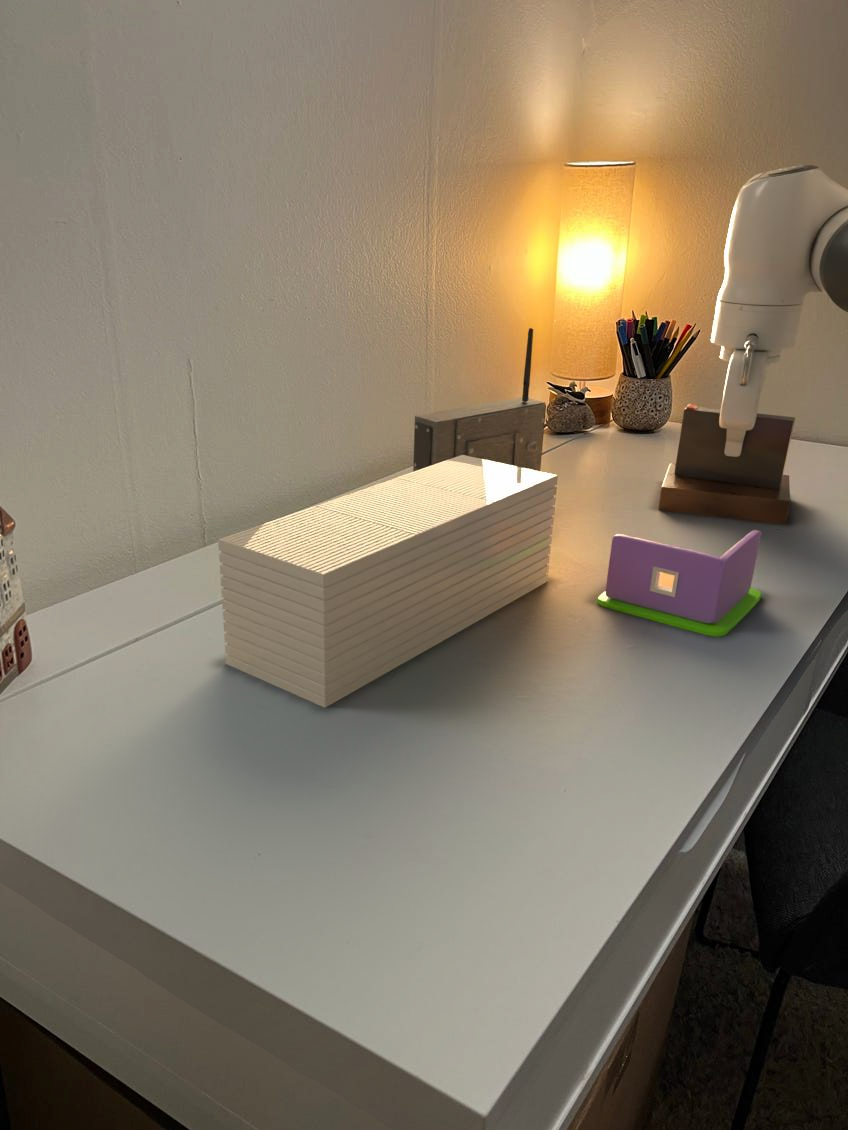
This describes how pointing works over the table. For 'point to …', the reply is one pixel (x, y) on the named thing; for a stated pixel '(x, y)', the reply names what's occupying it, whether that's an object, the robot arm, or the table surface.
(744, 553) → the miniature room corner
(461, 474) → the stack of papers
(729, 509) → the stand
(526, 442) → the electronic device
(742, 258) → the robot arm
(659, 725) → the table surface
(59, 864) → the table surface
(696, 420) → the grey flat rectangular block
